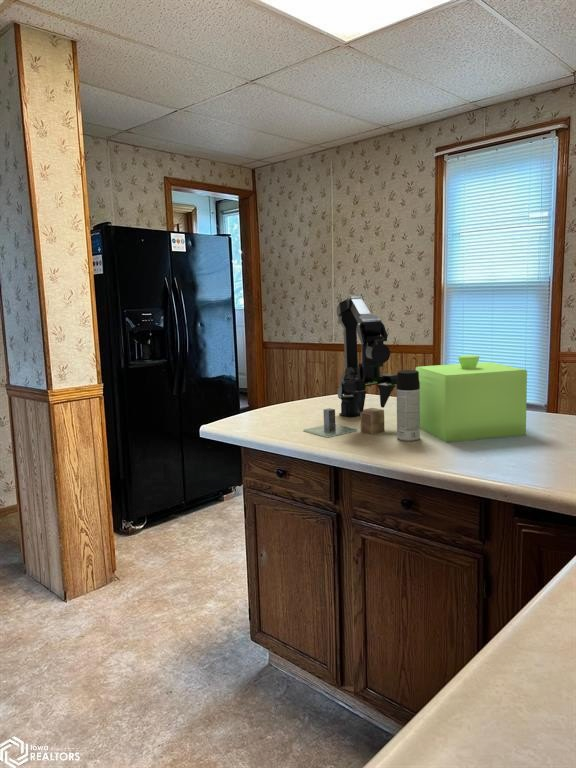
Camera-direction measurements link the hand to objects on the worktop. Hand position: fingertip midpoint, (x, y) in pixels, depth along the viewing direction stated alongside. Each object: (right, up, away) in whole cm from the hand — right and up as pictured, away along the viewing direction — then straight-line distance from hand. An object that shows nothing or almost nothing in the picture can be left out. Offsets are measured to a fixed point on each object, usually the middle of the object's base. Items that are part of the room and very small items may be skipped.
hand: (372, 409), depth 180 cm
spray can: (+9, -8, -10) cm, 16 cm away
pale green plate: (-13, -7, +4) cm, 15 cm away
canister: (+29, -7, -3) cm, 30 cm away
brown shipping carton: (0, -7, +1) cm, 7 cm away
